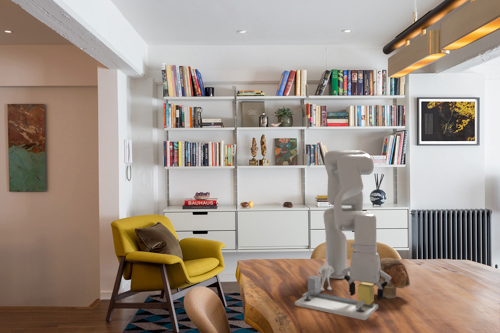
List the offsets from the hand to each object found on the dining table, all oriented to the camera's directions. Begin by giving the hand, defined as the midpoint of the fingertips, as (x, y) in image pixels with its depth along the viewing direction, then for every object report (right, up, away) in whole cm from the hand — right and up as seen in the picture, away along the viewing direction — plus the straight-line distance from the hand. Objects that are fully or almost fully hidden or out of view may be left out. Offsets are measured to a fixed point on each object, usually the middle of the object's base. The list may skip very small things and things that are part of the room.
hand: (366, 297), depth 137 cm
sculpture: (+13, -5, +13) cm, 19 cm away
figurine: (-10, -5, +23) cm, 25 cm away
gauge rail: (-10, -3, +3) cm, 11 cm away
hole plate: (-10, -4, +3) cm, 11 cm away
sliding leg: (-2, -3, -3) cm, 4 cm away
